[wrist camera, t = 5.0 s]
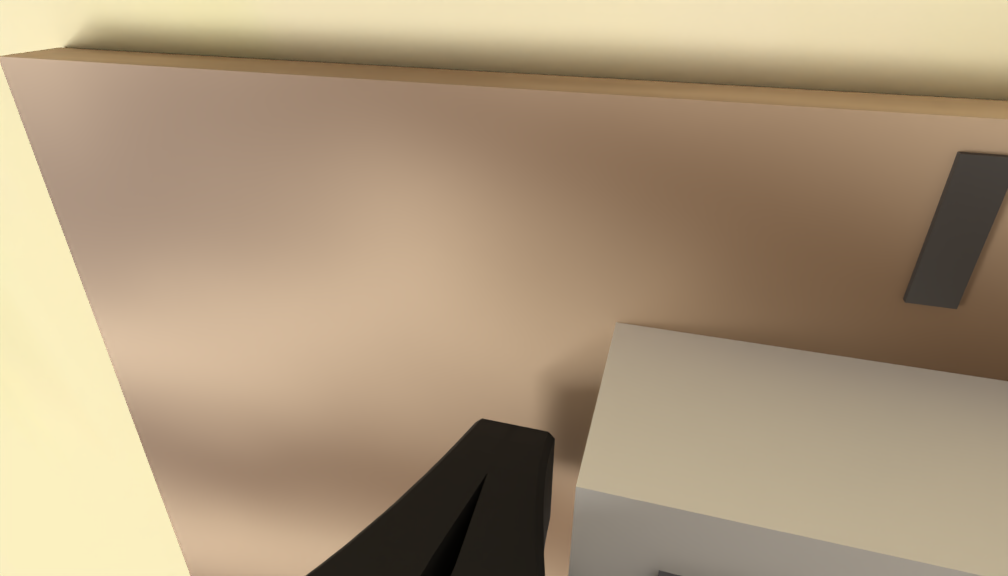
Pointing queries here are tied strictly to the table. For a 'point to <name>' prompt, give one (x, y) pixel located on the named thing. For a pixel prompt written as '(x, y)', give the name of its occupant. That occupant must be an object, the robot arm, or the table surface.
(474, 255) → the subfloor
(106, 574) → the table surface
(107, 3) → the table surface
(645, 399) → the white open box
